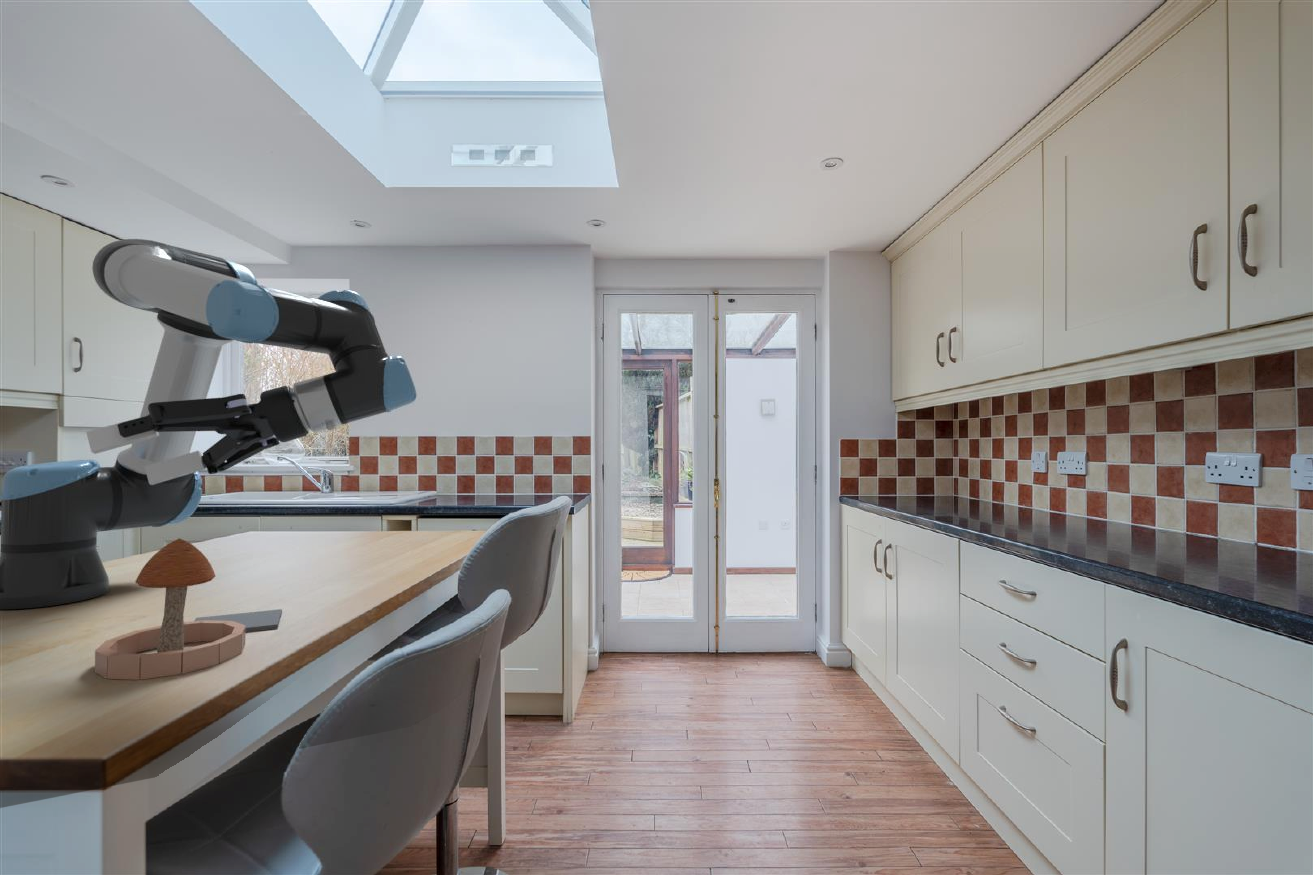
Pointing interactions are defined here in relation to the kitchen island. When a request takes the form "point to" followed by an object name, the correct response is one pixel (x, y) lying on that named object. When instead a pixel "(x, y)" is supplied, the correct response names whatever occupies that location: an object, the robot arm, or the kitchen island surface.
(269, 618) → the mat
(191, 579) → the mushroom
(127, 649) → the ring
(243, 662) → the kitchen island surface
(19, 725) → the kitchen island surface
